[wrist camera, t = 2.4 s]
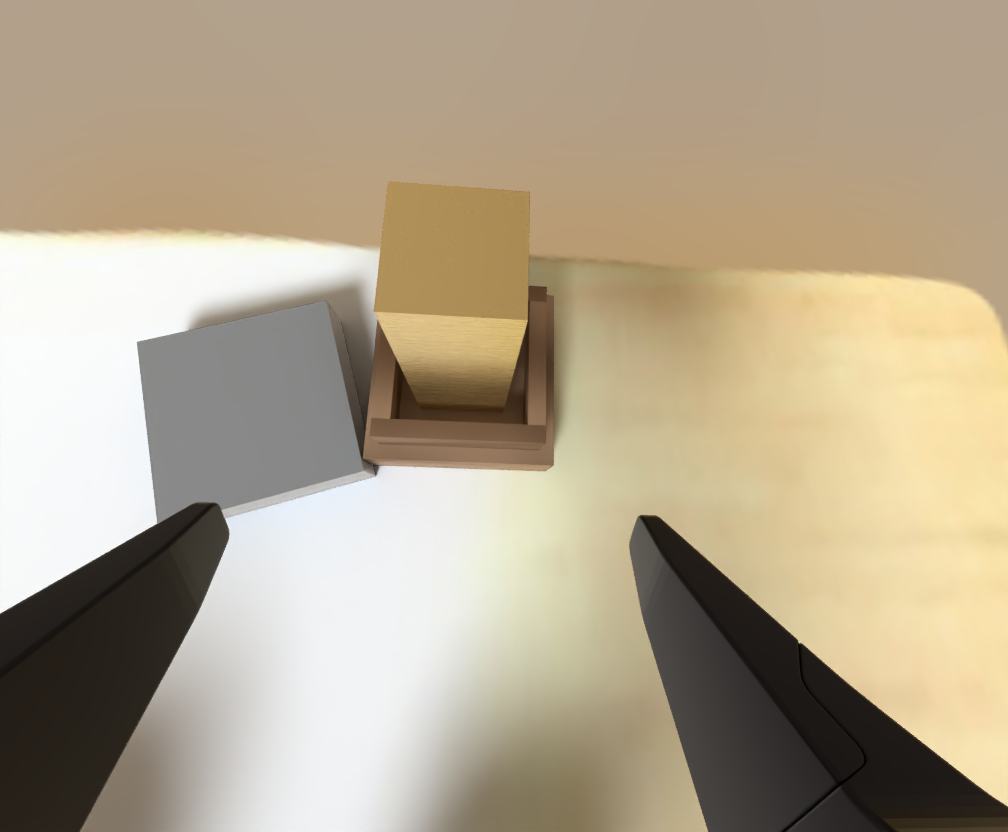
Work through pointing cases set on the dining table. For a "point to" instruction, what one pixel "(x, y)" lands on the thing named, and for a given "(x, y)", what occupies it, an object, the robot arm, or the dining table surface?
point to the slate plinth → (252, 411)
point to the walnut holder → (469, 434)
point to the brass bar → (454, 291)
